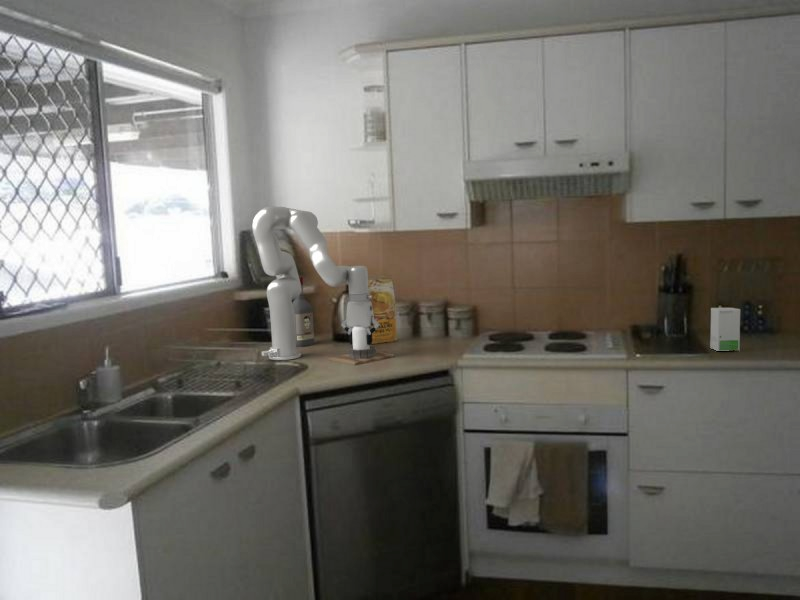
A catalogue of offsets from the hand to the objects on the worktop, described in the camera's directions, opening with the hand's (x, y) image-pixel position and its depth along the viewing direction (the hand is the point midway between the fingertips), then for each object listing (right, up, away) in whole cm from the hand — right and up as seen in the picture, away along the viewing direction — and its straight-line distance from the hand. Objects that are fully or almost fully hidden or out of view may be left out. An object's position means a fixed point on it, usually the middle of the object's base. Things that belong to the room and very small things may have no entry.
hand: (361, 343), depth 263 cm
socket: (0, -6, +1) cm, 6 cm away
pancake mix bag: (+6, -2, +35) cm, 35 cm away
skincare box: (+134, -2, -15) cm, 135 cm away
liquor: (-28, -3, +37) cm, 46 cm away
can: (0, -5, +1) cm, 5 cm away
